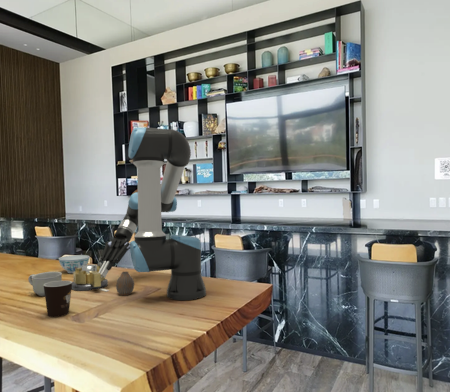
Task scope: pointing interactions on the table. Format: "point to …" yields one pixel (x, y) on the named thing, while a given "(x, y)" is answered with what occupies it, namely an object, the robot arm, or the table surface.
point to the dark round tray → (88, 286)
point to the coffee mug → (58, 297)
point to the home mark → (104, 290)
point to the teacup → (43, 281)
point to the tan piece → (88, 277)
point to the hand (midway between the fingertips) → (101, 275)
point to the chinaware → (73, 262)
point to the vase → (125, 284)
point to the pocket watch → (99, 263)
